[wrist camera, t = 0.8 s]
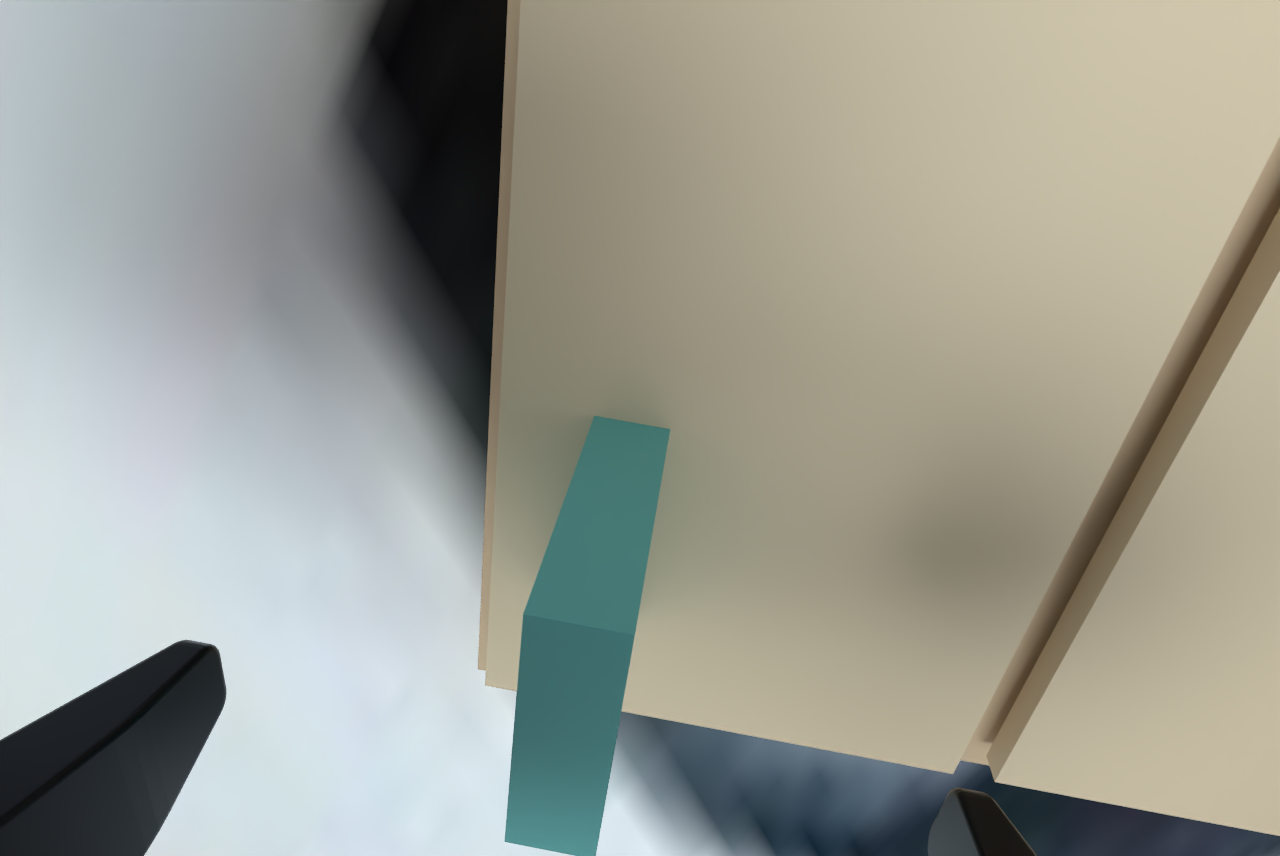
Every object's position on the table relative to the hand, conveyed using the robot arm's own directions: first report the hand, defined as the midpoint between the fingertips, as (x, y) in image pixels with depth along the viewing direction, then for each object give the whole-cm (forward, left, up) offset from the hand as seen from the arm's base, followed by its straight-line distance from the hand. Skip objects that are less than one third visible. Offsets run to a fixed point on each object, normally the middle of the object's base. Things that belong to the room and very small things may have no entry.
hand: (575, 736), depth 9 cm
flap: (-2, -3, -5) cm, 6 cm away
